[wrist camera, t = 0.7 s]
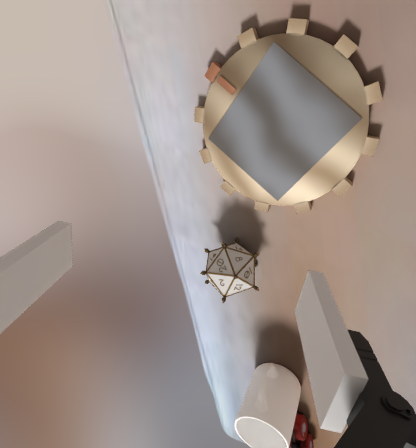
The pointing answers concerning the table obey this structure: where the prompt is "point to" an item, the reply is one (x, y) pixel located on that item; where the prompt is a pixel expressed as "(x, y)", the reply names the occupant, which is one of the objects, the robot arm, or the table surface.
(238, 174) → the sprocket plate
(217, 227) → the table surface
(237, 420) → the mug
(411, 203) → the table surface
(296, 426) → the toy fire truck
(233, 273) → the game die
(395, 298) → the table surface
